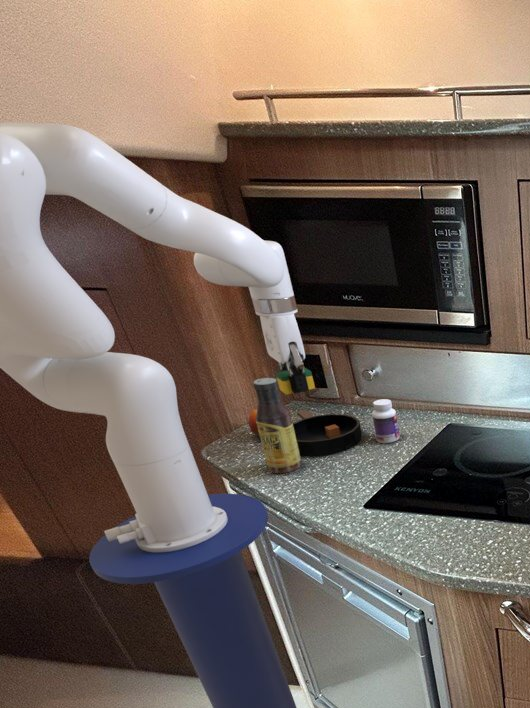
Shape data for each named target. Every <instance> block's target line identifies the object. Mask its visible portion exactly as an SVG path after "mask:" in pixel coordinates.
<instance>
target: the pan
mask: <svg viewBox="0 0 530 708" xmlns="http://www.w3.org/2000/svg"><path fill="white" fill-rule="evenodd" d="M296 414H297V416H298V417H299V418H300V420H297V421H295V422H293V427H294V431H295V435H296V440H297V444H298V449H299V453H300V457H309V458H311V457H324V456H331V455H334V454H339V453H342V452H345V451H347V450H350V449H352V448H354V447H356V446H357V445H358V444H359V443H360V442H361V441H362V439H363V434H362V427H361V422H360V419H358V418H357V417H356V416H354V415H349V414H345V413H344V414H343V413H342V414H341V413H328V414H327V413H326V414H319V415H314V414H312V413H311V412H310V411H309V410H308V409H303V410H298V411H296ZM334 424H335V425H337V426H338V427H339V430H340V434H341V436H337V437H333V438H329V437H328V436H327V434H326V430H325V427H327V426H330V425H334Z"/></svg>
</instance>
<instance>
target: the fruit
mask: <svg viewBox="0 0 530 708" xmlns="http://www.w3.org/2000/svg"><path fill="white" fill-rule="evenodd" d="M256 416H257V409H253V410H252V411H251V412H250V414H249V416H248V427H249V428H250V431H251V432H252V433H253V434H254V436H255V437H259V438H260V435H259V431H258V428H257V423H256Z"/></svg>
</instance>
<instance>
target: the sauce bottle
mask: <svg viewBox="0 0 530 708" xmlns="http://www.w3.org/2000/svg"><path fill="white" fill-rule="evenodd" d="M252 385H253V390H255V393H256V397H257V407H256V410H257V416H256V423H257V428H258V431H259V435H260V437H259V438H260V443H261V446H262V450H263V454H264V457H265V462H266V465H267V466H268V469H269V470H270V472H272V473H275V474H288V473H290V472H294V471H295V470H297V469H299V468H300V467H301V465H302V460H301V456H300V453H299V449H298V444H297V440H296V435H295V431H294V427H293V423H294V422H293V421H292V417H291V416H292V415H291V412H290V409H289V407H288V406H286V405H285V404H284V402H283V401H282V400H281V396H280V394H279V389H278V387H279V384H278V381H277V378H273V377H262V378H257V379H255V380H254V381H253V382H252Z"/></svg>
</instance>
